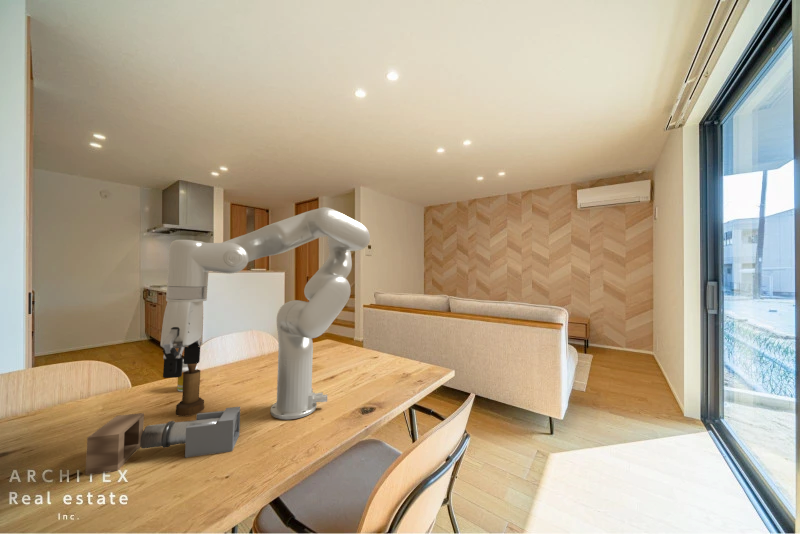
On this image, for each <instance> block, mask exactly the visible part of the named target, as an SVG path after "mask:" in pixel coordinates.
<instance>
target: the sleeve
mask: <svg viewBox="0 0 800 534" xmlns="http://www.w3.org/2000/svg"><path fill="white" fill-rule="evenodd" d="M195 415H196V418H195V420H203V419H212V418H220V419H219V421H218V423H211V424H202V425H193V426H187V427H186V443H184V445H185V449H184V451H185V452H184V458H193V457H200V456H207V455H213V454H220V453H228V452H233V450H234V448H235V446H236V445H237V441H238V439H239V437H240V430H241V429H240V427H241V424H240V423H241V406H234V407H233V406H232V407H226V408H225V409H224V410H217V411H208V412H200V413H197V414H195ZM236 416H237V430H236V434H235V437H234V420H235V418H236Z"/></svg>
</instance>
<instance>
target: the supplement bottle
mask: <svg viewBox="0 0 800 534" xmlns="http://www.w3.org/2000/svg"><path fill="white" fill-rule="evenodd" d="M183 361H184V358H183ZM198 367H199V366H198V365H197V366H196V369H195V370H199V368H198ZM188 370H189V369H188V366H187V364H184V363H183V367H182V376H181V377H177V387H176V388H177V392H182V393H183V373H184V372H185V371H188Z"/></svg>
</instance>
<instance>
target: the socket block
mask: <svg viewBox="0 0 800 534" xmlns="http://www.w3.org/2000/svg"><path fill="white" fill-rule="evenodd" d="M144 419H145V413H144V412H140V413H130V414H122V415H121V414H119V415H116V416H114V417H113V418H112V419H110V420H109V421H108V422H106V423H105V424H104V425H102V426H101V427H100V428H98V429H96V430H95V432H93V433H92V434H90V435H89V436H87V437H86V458H85V476H88V475H92V474H93V475H94V474H101V473H107V472H115V471H118V470H120V468H121V467H123V465H124V464H125V463H126V462H127V461H129V459H130V458H131V457H132V456H133V455H134V454H135V453H136V452H137V451H138V450H139V449H141V446H140V440H141V435H142V433H143V431H144V425H145V424H144V423H145V422H144Z"/></svg>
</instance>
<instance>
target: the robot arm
mask: <svg viewBox="0 0 800 534" xmlns="http://www.w3.org/2000/svg"><path fill="white" fill-rule="evenodd" d="M325 237H327V246H328V257H327V259H326V260H325V262H324V263H323V264H322V265H321V267H320V268H319V269H318V270H317V271H316V272H315V273H314V274H313V275H312V277H311V278H310V279H309V280H308V281H307V282H306V284H305V286H304V288H303V290H304V291H303V292H304V297H305V299H307V300H308V301H303V300H299V299H298V300H297V299H294V300H290V301H287V302H285V303H283V305H281V306H280V308H279V309H278V312H277V315H276V331H277V337H278V338H277V340H278V341H277V342H278V345H277V346H278V349H277V350H278V351H277V352H278V356H277V385H276V402H275V403H273V404H272V405H271V407H270V415H271V416H272V417H273V418H275V419H278V420H296V419H300V418H304V417H306V416H309V415H310V414H312V413H314V412H315V411H316V409H317V403H326V402H328V394H324V393H323V392H313V390H314V388H313V358H314V357H313V353H314V343H313V339H315V338H318V337H320V336H322V335H323V334H325V332H326V331H327V330H329V329H328V328H329V327H330V326H331V325H332V324H333V322H334V321H335V320H336V318H337V317H338V316H339V314H340V313H342V311H343V309H344V308H345V306H346V305H347V303H348V301H349V300H350V297H351V284H350V282H349V280H348V279H347V278H348V277H349V275H350V273H351V272H352V267H353V266H352V265H353V262H352V252H356V251H357V252H358V251H362V250H364V249H365V248H366V247H368V245H369V244H370V241H371V234H370V232H369V229H368V228H367V227H366V226H365V225H364V224H362V223H361V222H360V221H358V220H356V219H354V218H352V217H350V216H347V215H346V214H344V213H342V212H340V211H339V210H336V209H333V208H331V207H325V206H323V207H319V208H316V209H311V210H309V211H308V210H307V211H305V212H302V213H299V214H297V215H296V214H295V215H294V216H290V217H288V218H285V219H282V220H279V221H276V222H273V223H271V224H268V225H265V226H263V227H261V228H259V229H256V230H254V231H251V232H248V233H246V234H242V235H240V236H236V237H234V238H231V239H228V240H226V241H225V240H224V241H222V242H204V241H200V240H192V239H175V240H173V241H171V242H170V245H169V249H168V250H169V252H168V264H167V280H166V281H167V282H166V295H165V296H166V297H165V301H166V302H167V303H166V306H165V310H164V313H163V320H162V325H161V326H162V328H161V335H160V347H161V348H163V350H162V353H163V355H162V356H163V371H162V372H163V373H162V377H163V378H164V379H172V378H173V379H174V378H177V379H178V377H181V376H182V367H183V363H184V364H199V363H200V361H201V360H200V359H201V346H202V341H201V339H202V336H203V329H204V302H205V301H208V284H209V272H214V273H219V274H229V275H231V274H237V273H239V272H241V271H242V270H244V269H245V268H246V267H247V266H248V263H249V262H252V261H254V260H258V259H262V258H264V257H270V256H276V255H280V254H283V253H285V252H289V251H290V250H291V251H292V250H293V249H296V248H298V247H300V246H303V245H305V244H307V243H309V242H313V241H315V240H316V239H320V238H325ZM177 349H178V350H177ZM182 355H183V357H182ZM183 359H184V361H183Z"/></svg>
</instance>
